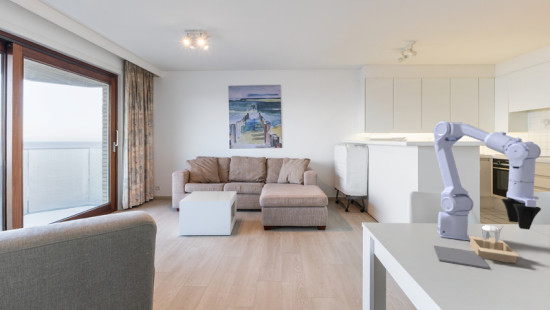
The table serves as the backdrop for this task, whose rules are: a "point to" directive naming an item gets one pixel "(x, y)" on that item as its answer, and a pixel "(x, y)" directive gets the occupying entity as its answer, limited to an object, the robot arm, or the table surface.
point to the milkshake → (490, 236)
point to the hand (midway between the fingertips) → (518, 225)
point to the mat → (460, 257)
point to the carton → (493, 250)
